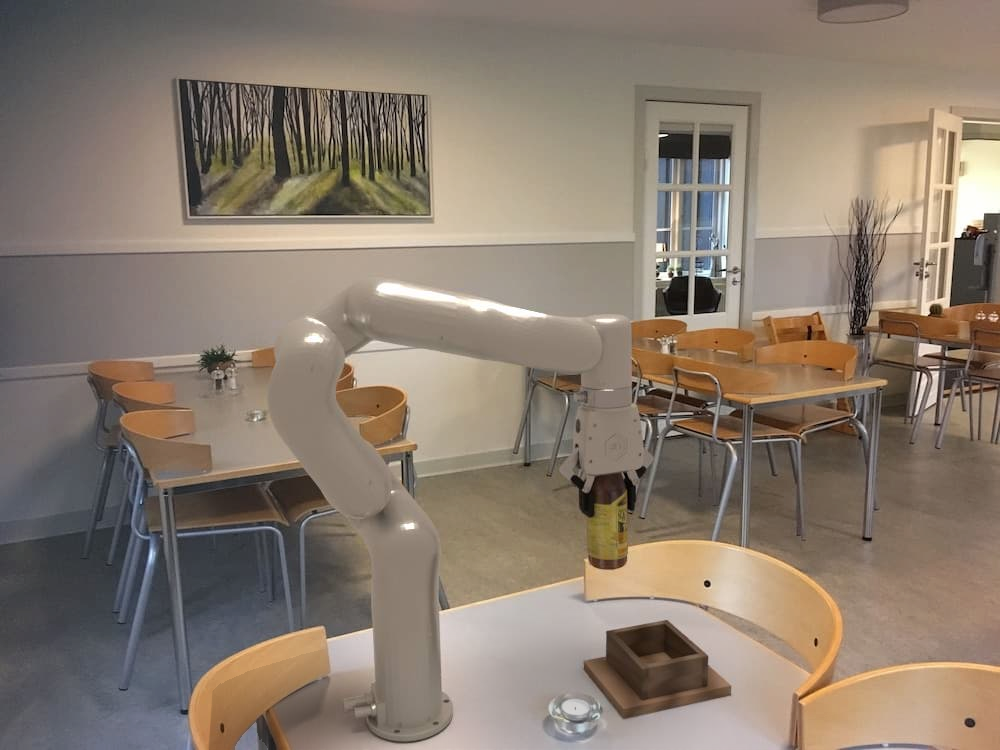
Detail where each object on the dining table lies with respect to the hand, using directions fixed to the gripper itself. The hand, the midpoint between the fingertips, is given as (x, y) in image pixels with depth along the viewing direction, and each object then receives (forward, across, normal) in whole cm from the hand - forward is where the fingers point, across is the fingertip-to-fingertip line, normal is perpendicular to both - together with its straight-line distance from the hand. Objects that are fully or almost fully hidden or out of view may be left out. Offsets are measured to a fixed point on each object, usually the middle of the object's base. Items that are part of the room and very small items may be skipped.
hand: (607, 510), depth 120 cm
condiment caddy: (+27, +5, -5) cm, 28 cm away
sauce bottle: (+9, 0, 0) cm, 9 cm away
